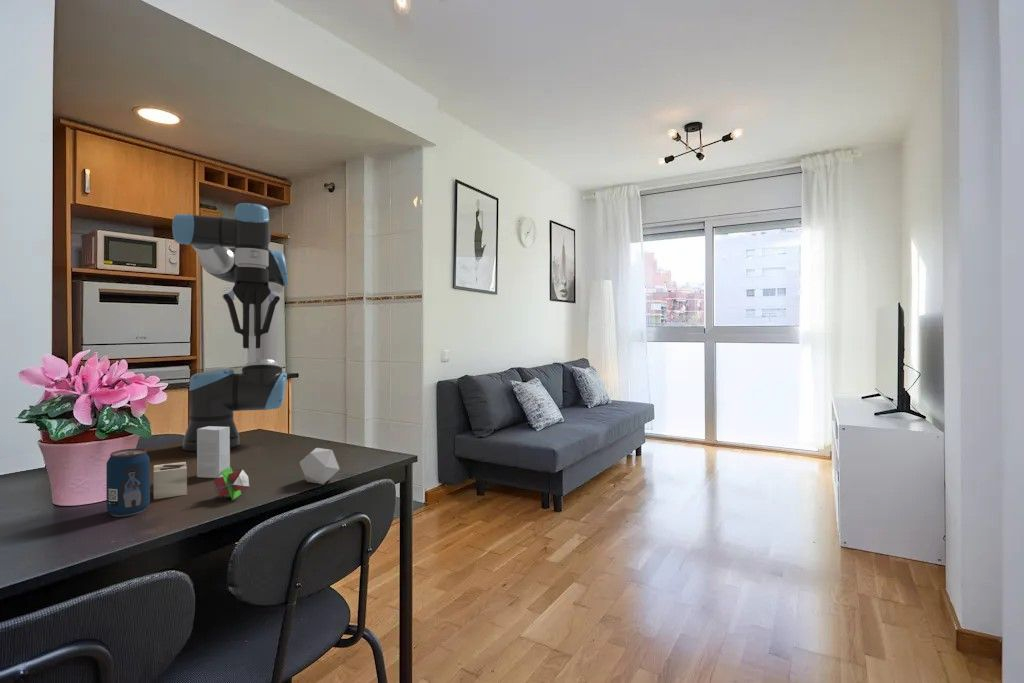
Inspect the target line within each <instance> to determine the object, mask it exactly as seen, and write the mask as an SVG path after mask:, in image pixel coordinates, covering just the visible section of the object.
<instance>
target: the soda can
mask: <svg viewBox="0 0 1024 683" xmlns="http://www.w3.org/2000/svg"><path fill="white" fill-rule="evenodd" d="M150 464H151V460H150V456H149V454H148V453H147V449H145V448H128V449H120V450H116V451H112V452H111V453H110V455H109V458H108V459H107V461H106V465H105V466H106V472H105V474H106V479H105V480H106V482H105V483H106V484H105V485H106V511H107V512H108V513H109V514H110V515H111V516H113V517H118V518H120V517H129V516H130V517H131V516H135V515H138V514H140V513H143V512H144V511H146V509H147V508H148V506H149V505H150V503H151V472H150V471H151V465H150Z"/></svg>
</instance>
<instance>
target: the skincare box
mask: <svg viewBox="0 0 1024 683" xmlns="http://www.w3.org/2000/svg"><path fill="white" fill-rule="evenodd" d="M196 457H197V458H196V477H197V478H205V479H206V478H207V479H215V478H216V479H217V478H220V477H223V476H222V473H221V471H223V470H225V469H227V468H229V467H230V466H231V448H230V427H218V426H207V427H203V428H199V429H197V451H196ZM219 473H221V475H220V474H219ZM218 474H219V475H220V477H219V475H218Z"/></svg>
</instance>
